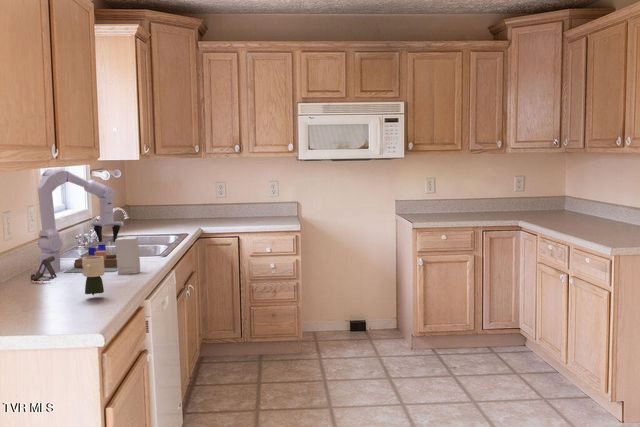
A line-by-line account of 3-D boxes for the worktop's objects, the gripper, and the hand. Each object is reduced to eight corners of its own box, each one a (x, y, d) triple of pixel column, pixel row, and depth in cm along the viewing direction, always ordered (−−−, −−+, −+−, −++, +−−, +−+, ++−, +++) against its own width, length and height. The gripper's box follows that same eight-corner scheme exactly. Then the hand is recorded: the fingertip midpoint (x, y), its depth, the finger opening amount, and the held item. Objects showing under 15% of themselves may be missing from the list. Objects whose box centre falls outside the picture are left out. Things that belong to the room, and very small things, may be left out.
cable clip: (97, 256, 301) (96, 244, 301) (105, 256, 301) (105, 244, 300) (85, 260, 289) (85, 247, 289) (95, 260, 289) (94, 247, 288)
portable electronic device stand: (39, 276, 249) (37, 256, 248) (58, 276, 249) (57, 255, 248) (30, 280, 240) (29, 259, 239) (51, 280, 240) (50, 259, 240)
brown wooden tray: (119, 267, 265) (119, 259, 265) (72, 268, 264) (72, 260, 264) (128, 261, 279) (127, 254, 279) (83, 262, 278) (83, 255, 278)
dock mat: (114, 271, 256) (114, 271, 256) (64, 272, 255) (64, 272, 255) (125, 265, 272) (125, 264, 272) (77, 266, 271) (77, 265, 271)
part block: (104, 263, 270) (103, 252, 269) (94, 263, 270) (94, 252, 269) (106, 261, 274) (106, 250, 273) (97, 261, 274) (97, 250, 273)
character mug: (90, 291, 218) (88, 255, 217) (110, 290, 218) (108, 254, 217) (78, 297, 208) (76, 260, 206) (99, 297, 207) (97, 259, 206)
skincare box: (140, 271, 257) (139, 236, 256) (136, 274, 251) (135, 238, 250) (120, 271, 257) (119, 236, 255) (116, 274, 251) (114, 238, 249)
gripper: (124, 211, 285) (126, 240, 286) (93, 212, 285) (94, 240, 286) (120, 212, 278) (121, 242, 279) (88, 213, 277) (89, 242, 279)
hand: (107, 241), depth 282 cm, fingers open, 6 cm apart
